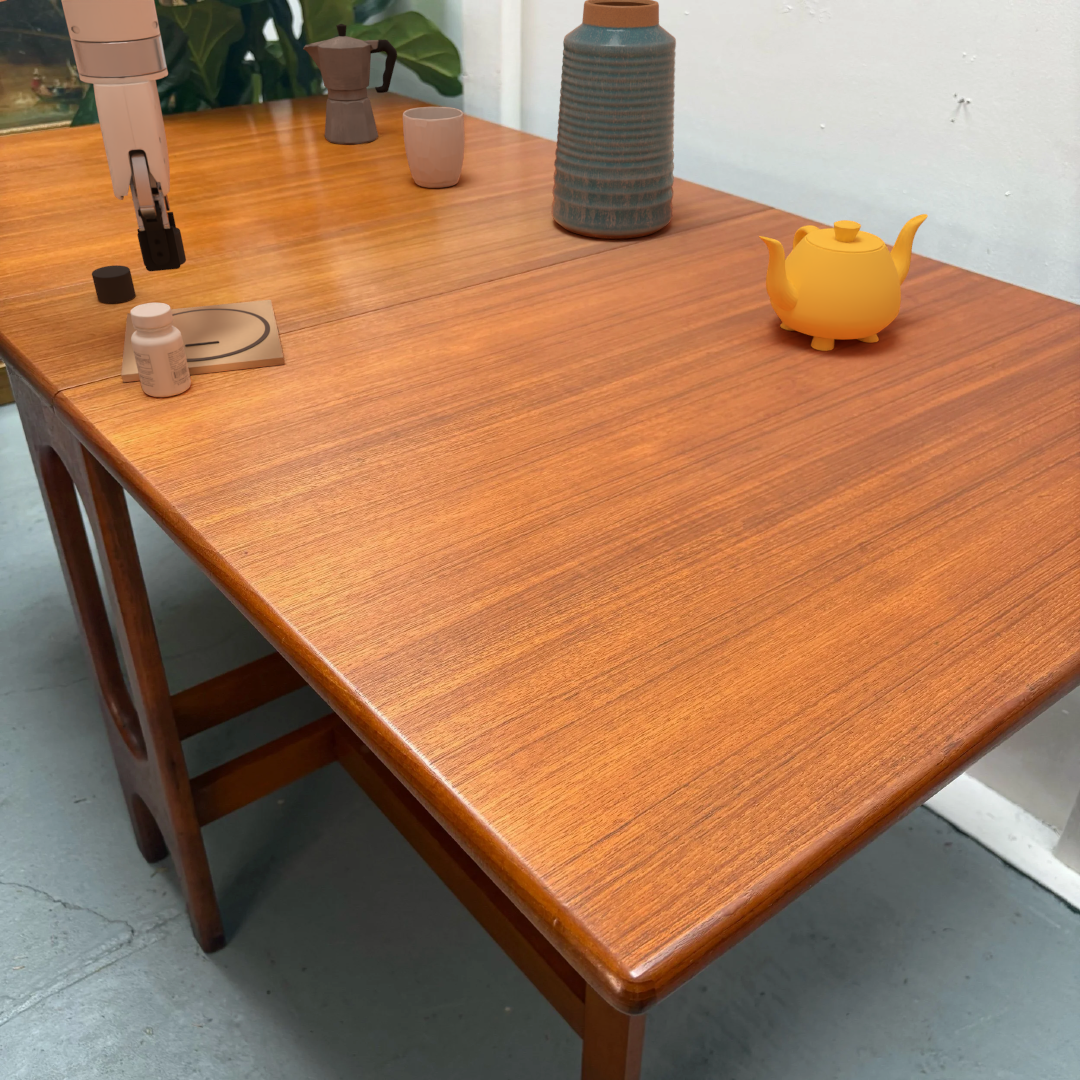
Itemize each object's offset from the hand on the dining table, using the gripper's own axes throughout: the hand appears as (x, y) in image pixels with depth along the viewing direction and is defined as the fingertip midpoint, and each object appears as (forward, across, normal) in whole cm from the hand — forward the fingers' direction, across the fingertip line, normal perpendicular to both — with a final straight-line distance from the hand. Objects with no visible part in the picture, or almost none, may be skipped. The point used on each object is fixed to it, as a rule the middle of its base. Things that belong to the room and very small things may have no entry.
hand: (163, 259), depth 101 cm
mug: (+8, -53, +37) cm, 65 cm away
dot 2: (0, 0, 0) cm, 0 cm away
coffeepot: (+8, -83, +30) cm, 88 cm away
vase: (+9, -25, +56) cm, 62 cm away
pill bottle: (+8, +12, -1) cm, 15 cm away
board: (+8, +2, +2) cm, 9 cm away
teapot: (+9, +16, +65) cm, 68 cm away
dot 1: (+8, -14, -7) cm, 17 cm away
